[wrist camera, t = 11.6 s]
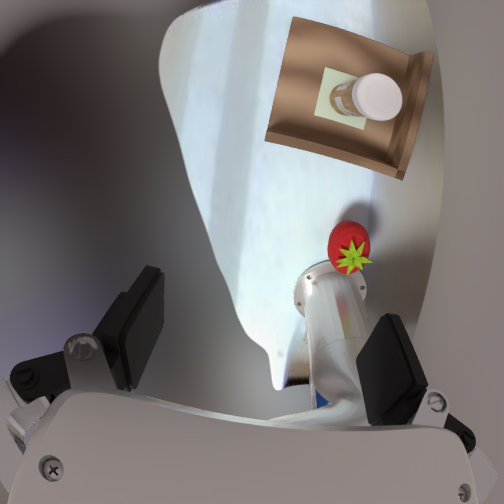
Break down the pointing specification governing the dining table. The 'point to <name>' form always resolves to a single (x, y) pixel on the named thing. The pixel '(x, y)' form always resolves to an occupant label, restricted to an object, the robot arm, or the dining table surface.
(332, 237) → the strawberry
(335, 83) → the sage pad
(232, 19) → the dining table surface
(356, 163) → the tray
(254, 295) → the dining table surface
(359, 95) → the sprinkles bottle
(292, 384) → the dining table surface
